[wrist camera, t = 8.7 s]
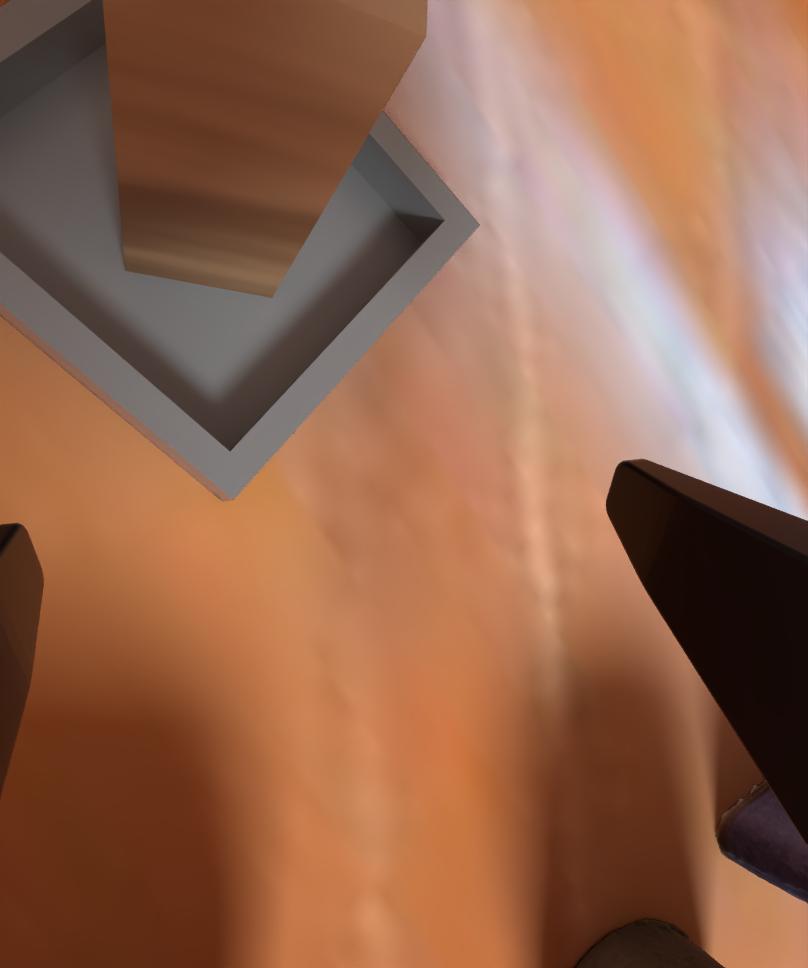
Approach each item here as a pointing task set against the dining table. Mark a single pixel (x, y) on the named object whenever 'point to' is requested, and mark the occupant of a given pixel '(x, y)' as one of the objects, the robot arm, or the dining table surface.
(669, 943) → the pillar candle
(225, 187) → the walnut block
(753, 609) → the robot arm
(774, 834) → the flask
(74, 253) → the tray
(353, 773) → the dining table surface
